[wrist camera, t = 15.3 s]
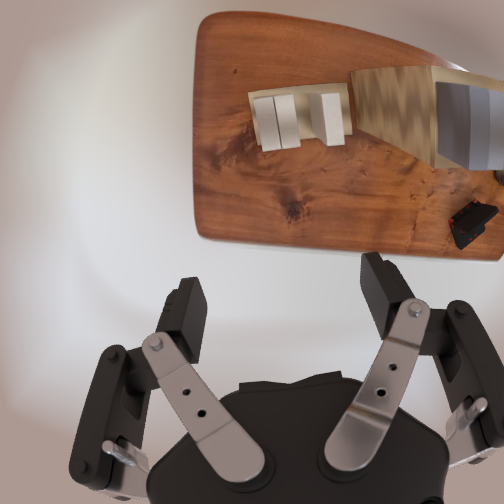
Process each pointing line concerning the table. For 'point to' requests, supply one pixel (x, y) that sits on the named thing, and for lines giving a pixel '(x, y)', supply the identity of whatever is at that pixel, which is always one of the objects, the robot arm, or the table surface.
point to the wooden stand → (434, 114)
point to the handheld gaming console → (471, 222)
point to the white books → (291, 114)
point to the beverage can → (500, 176)
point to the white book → (326, 117)
